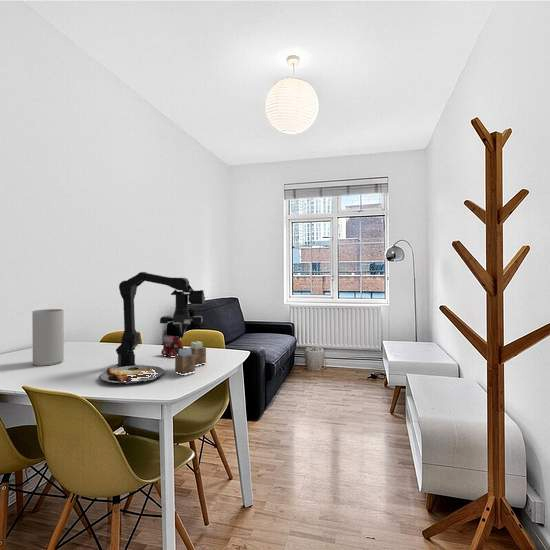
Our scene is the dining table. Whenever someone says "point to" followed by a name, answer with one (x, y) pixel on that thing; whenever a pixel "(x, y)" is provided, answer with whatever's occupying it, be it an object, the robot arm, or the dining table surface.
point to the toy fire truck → (171, 345)
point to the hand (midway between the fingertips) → (181, 338)
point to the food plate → (129, 373)
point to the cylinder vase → (47, 337)
